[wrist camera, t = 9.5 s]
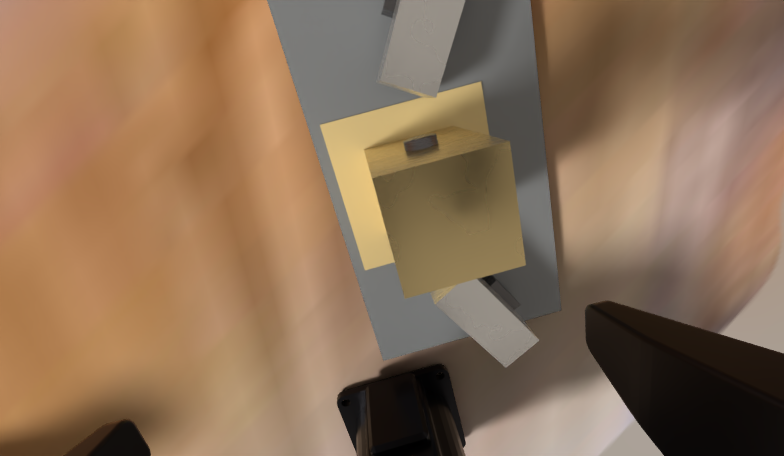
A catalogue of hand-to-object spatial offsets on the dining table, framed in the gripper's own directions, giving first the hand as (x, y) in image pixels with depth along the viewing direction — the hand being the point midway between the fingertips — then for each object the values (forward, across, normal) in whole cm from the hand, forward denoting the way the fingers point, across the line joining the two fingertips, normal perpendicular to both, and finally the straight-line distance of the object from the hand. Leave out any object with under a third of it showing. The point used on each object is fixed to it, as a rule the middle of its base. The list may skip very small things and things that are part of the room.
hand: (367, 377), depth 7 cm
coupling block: (+10, -3, -1) cm, 11 cm away
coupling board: (+11, -4, -1) cm, 12 cm away
